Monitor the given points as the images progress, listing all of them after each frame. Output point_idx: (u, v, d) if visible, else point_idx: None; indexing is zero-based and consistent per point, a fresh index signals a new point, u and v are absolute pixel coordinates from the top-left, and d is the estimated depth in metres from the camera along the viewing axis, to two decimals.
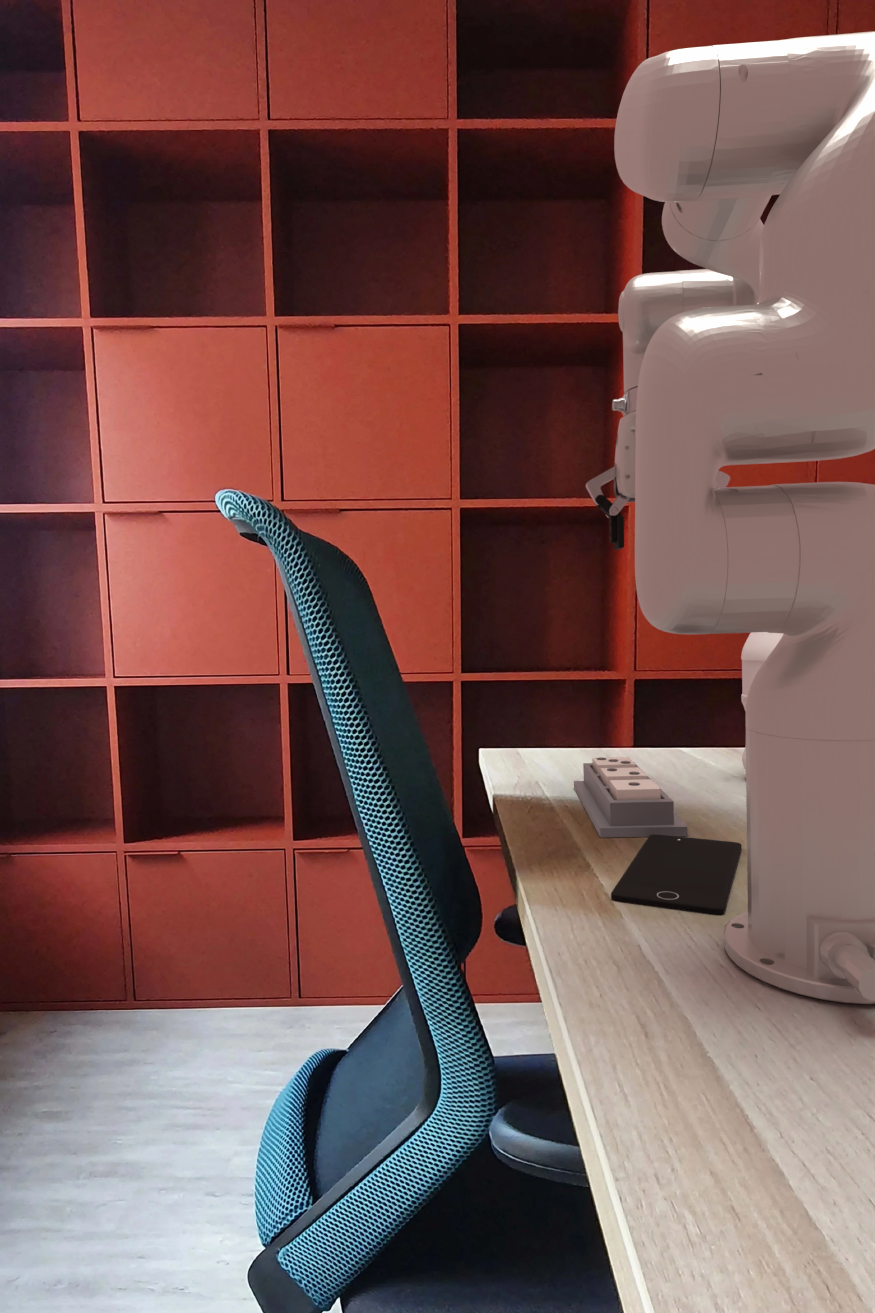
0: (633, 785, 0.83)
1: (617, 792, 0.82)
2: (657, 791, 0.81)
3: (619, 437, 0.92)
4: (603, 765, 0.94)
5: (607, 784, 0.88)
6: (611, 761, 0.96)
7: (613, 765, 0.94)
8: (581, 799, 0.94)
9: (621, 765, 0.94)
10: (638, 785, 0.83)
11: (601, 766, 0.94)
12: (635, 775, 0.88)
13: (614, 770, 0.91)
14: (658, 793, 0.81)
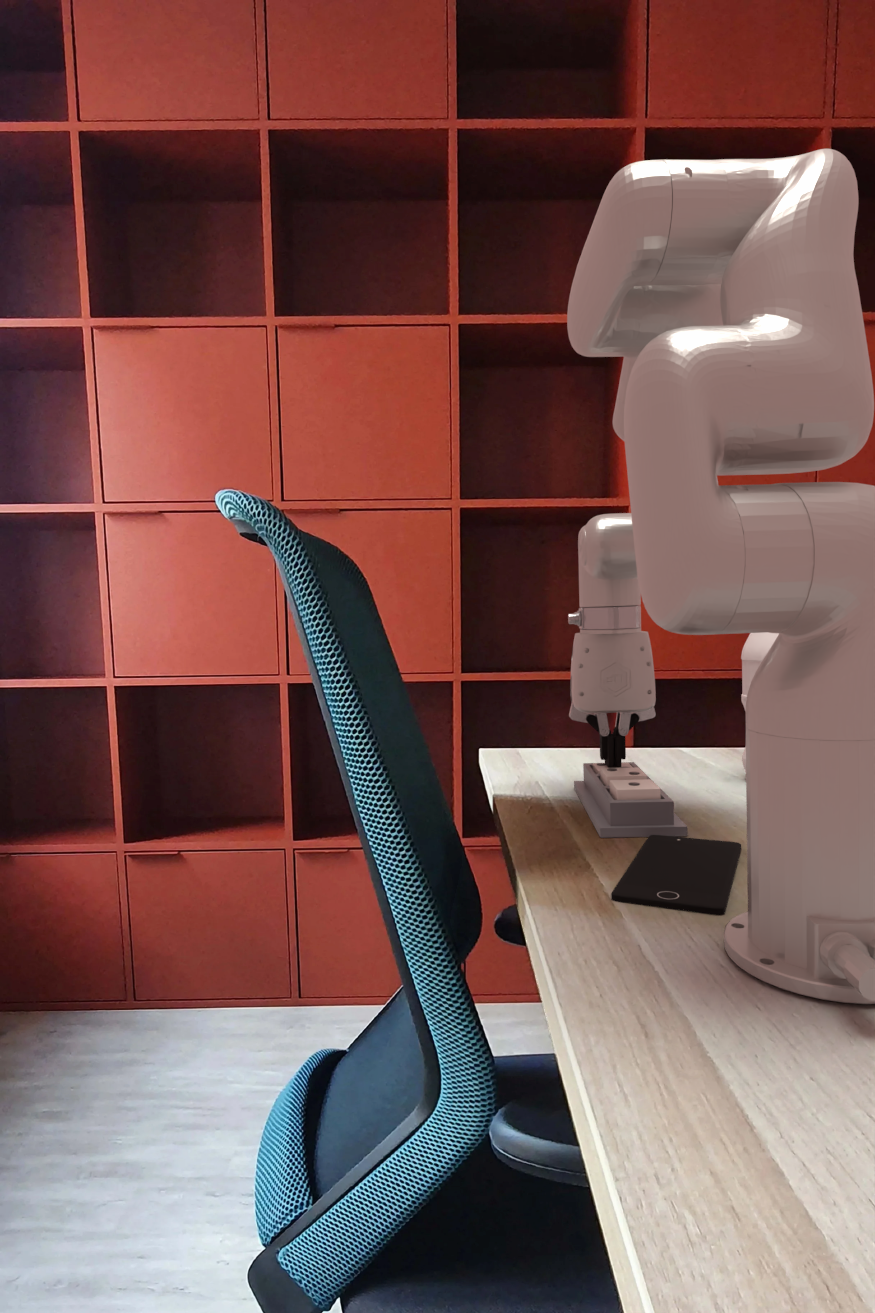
0: (633, 785, 0.83)
1: (617, 792, 0.82)
2: (657, 791, 0.81)
3: (574, 653, 0.95)
4: None
5: (607, 784, 0.88)
6: None
7: None
8: (581, 799, 0.94)
9: None
10: (638, 785, 0.83)
11: None
12: (635, 775, 0.88)
13: (614, 770, 0.91)
14: (658, 793, 0.81)
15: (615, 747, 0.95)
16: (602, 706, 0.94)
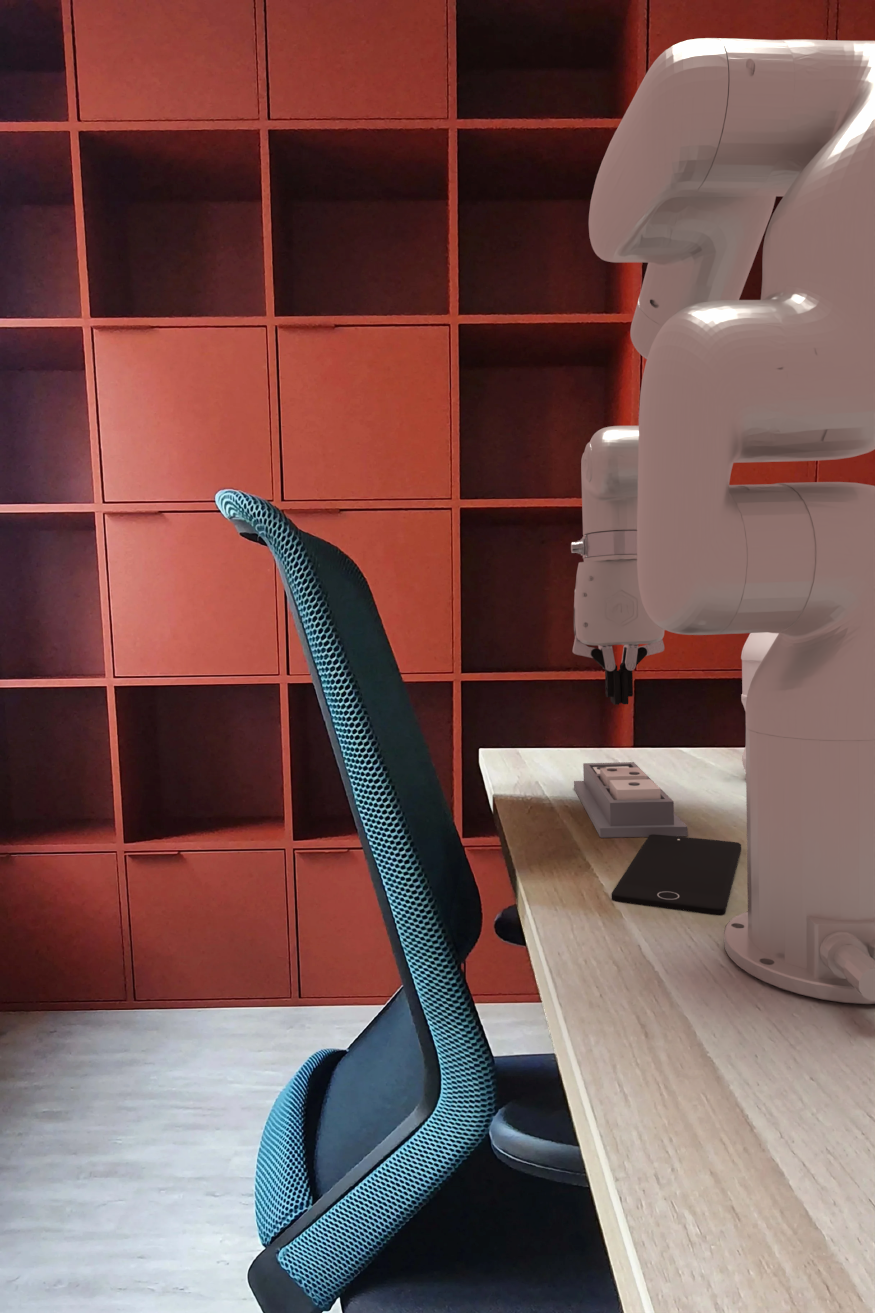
0: (633, 785, 0.83)
1: (617, 792, 0.82)
2: (657, 791, 0.81)
3: (577, 582, 0.89)
4: None
5: (607, 784, 0.88)
6: None
7: None
8: (581, 799, 0.94)
9: None
10: (638, 785, 0.83)
11: None
12: (635, 775, 0.88)
13: (614, 770, 0.91)
14: (658, 793, 0.81)
15: (622, 682, 0.90)
16: (608, 638, 0.88)
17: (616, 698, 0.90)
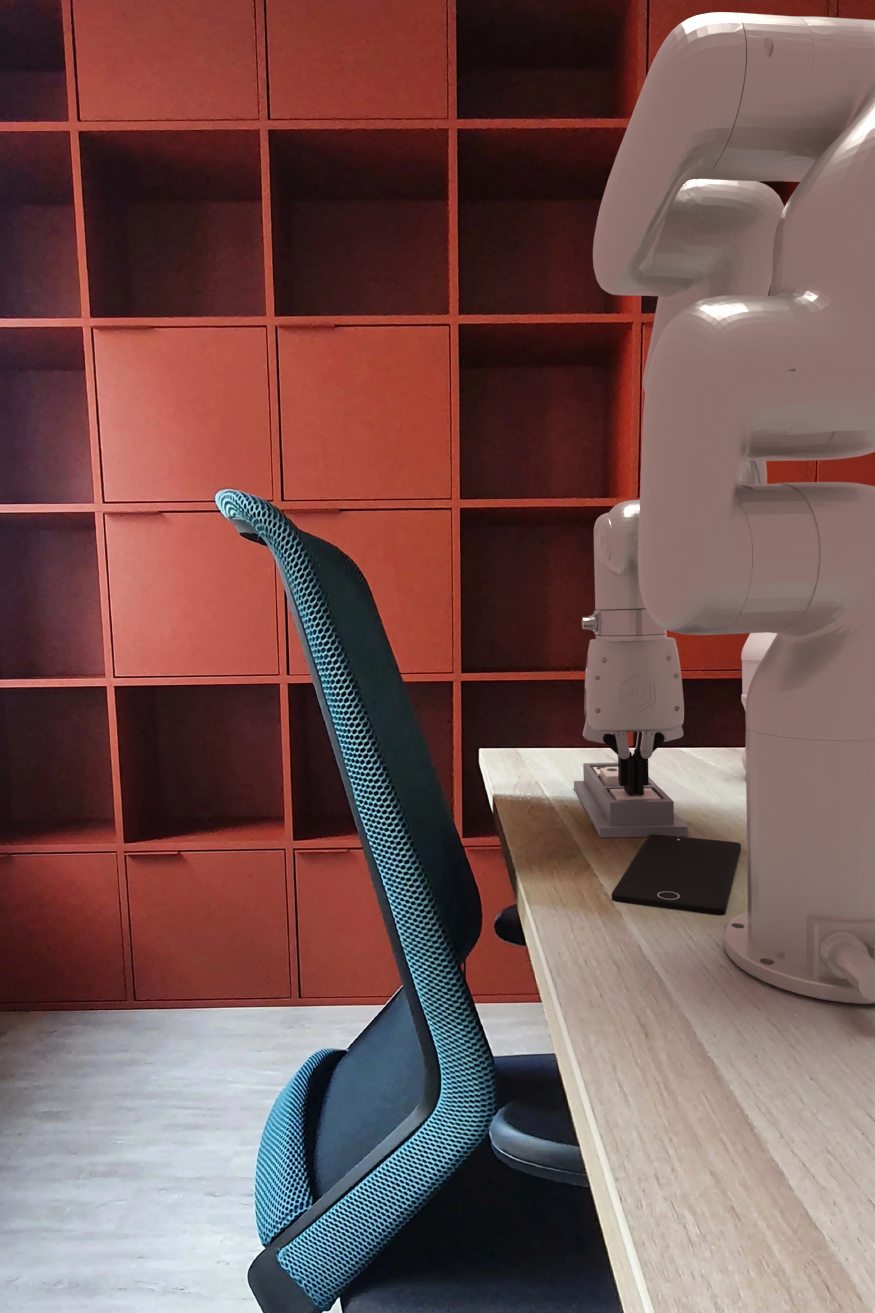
0: None
1: None
2: None
3: (589, 663, 0.82)
4: None
5: (607, 784, 0.88)
6: None
7: None
8: (581, 799, 0.94)
9: None
10: None
11: None
12: None
13: (614, 770, 0.91)
14: None
15: (636, 772, 0.82)
16: (622, 725, 0.81)
17: (630, 789, 0.82)
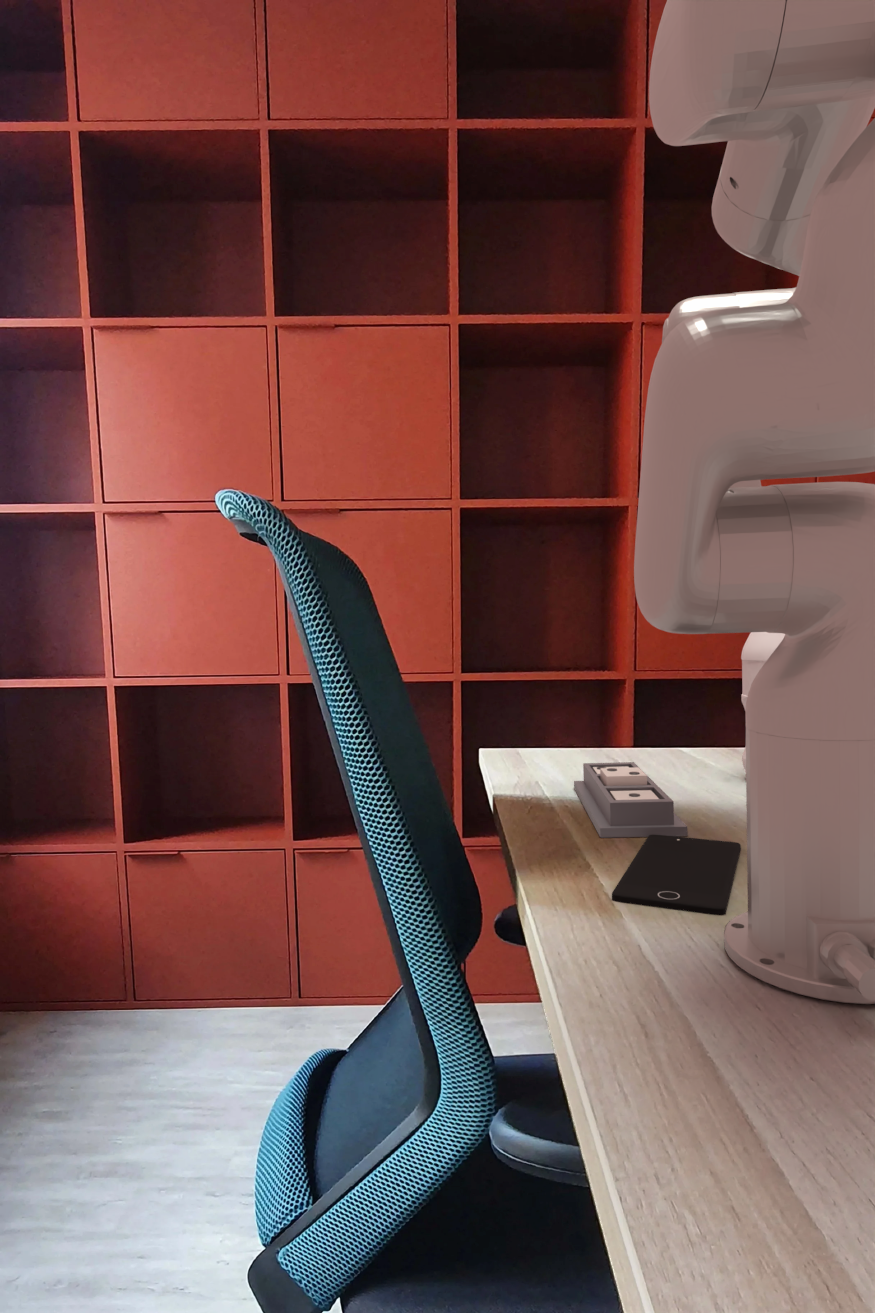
0: (633, 796, 0.83)
1: None
2: None
3: None
4: None
5: (607, 784, 0.88)
6: None
7: None
8: (581, 799, 0.94)
9: None
10: (638, 796, 0.83)
11: None
12: (635, 775, 0.88)
13: (614, 770, 0.91)
14: None
15: None
16: None
17: None
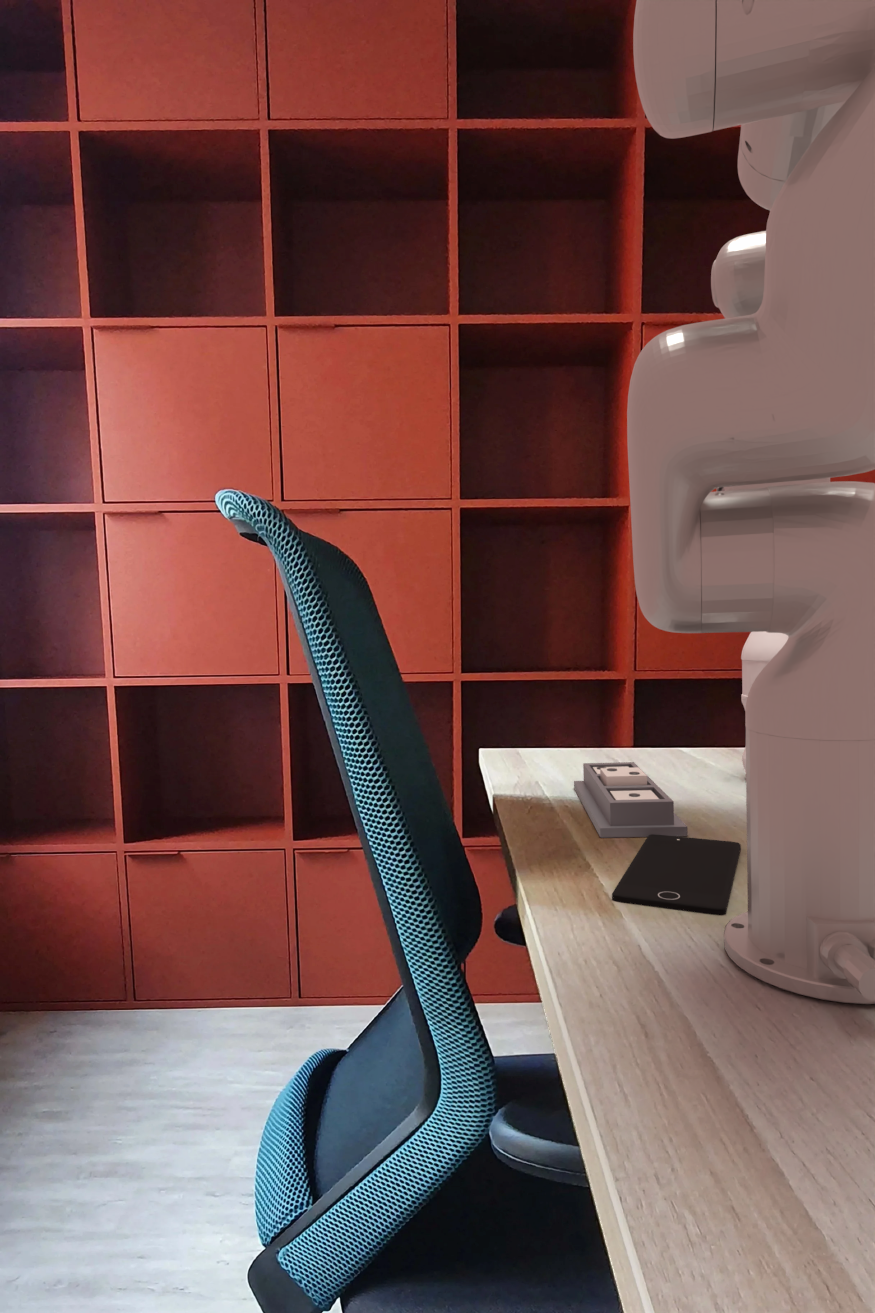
0: (633, 796, 0.83)
1: None
2: None
3: None
4: None
5: (607, 784, 0.88)
6: None
7: None
8: (581, 799, 0.94)
9: None
10: (638, 796, 0.83)
11: None
12: (635, 775, 0.88)
13: (614, 770, 0.91)
14: None
15: None
16: None
17: None
